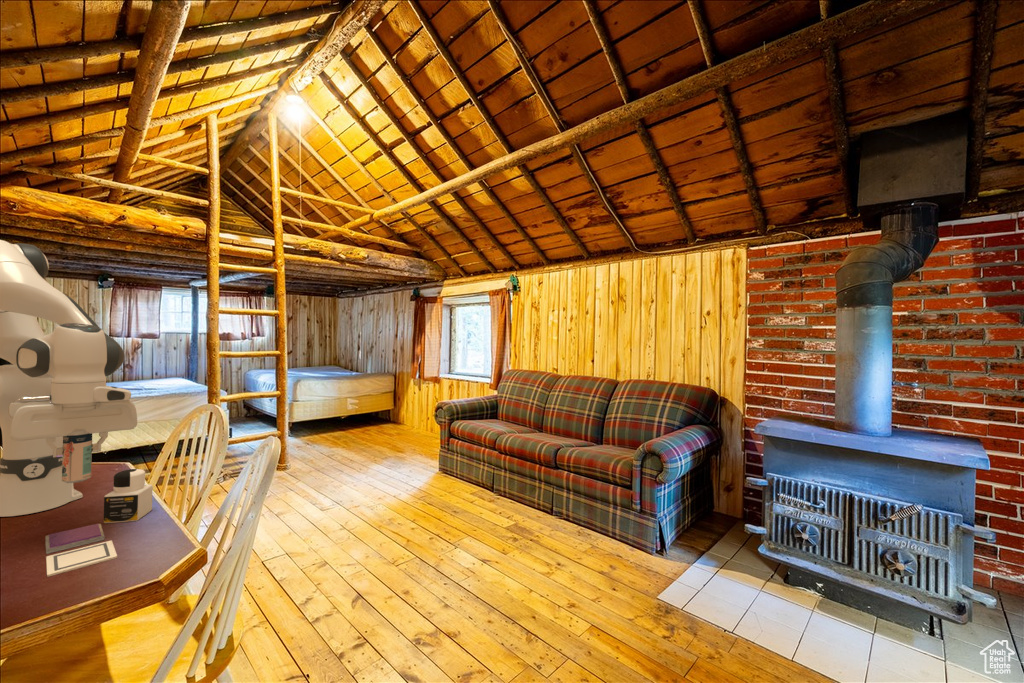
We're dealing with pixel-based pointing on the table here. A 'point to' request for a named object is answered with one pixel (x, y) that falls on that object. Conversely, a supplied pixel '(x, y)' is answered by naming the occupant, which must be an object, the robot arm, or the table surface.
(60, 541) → the ink pad
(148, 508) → the medicine bottle
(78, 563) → the marked card
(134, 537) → the table surface
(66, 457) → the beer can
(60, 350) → the robot arm
